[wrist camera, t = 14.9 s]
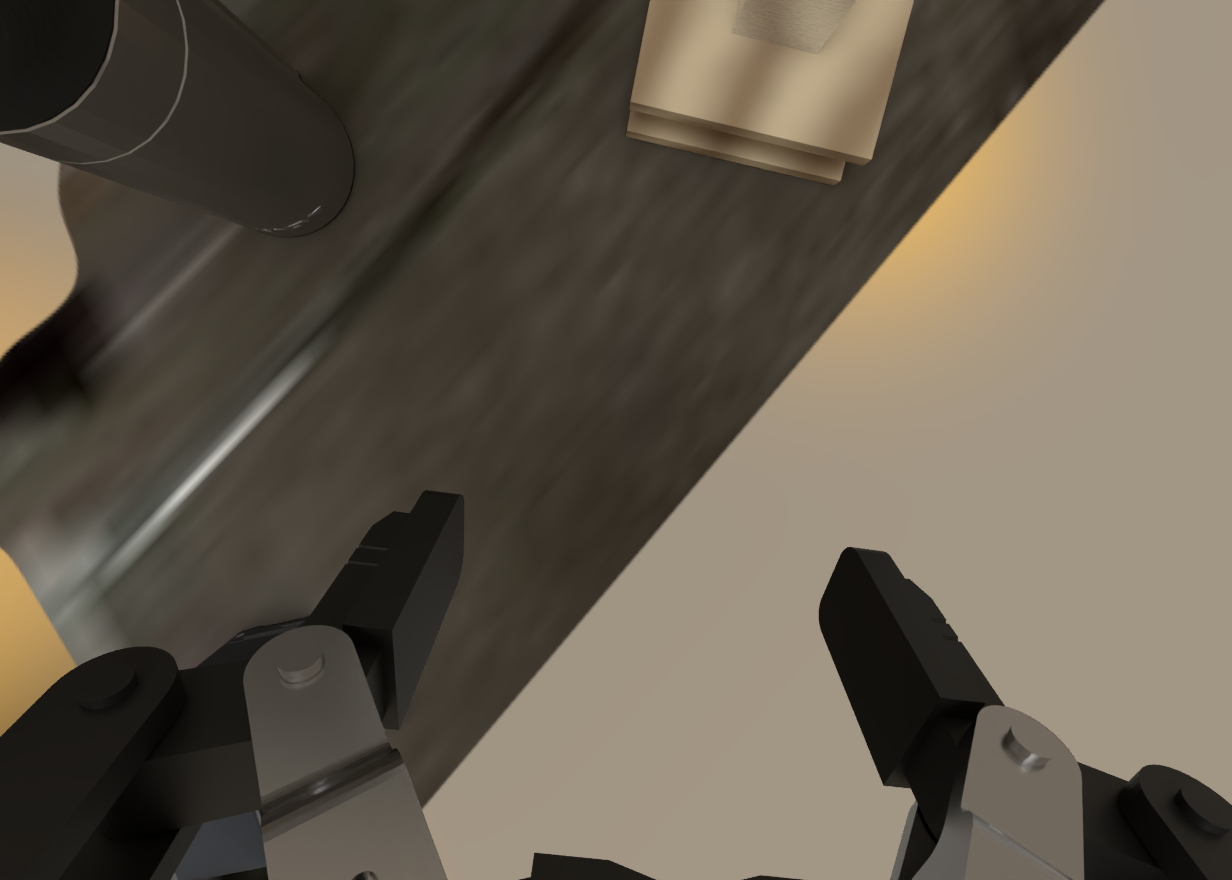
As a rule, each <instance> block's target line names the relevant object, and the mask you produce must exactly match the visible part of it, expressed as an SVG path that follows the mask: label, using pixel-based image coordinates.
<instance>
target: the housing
mask: <svg viewBox="0 0 1232 880" xmlns="http://www.w3.org/2000/svg"><path fill="white" fill-rule="evenodd" d="M855 1H856V0H739V3H738V7H737V12H736V17H735V21H734V26H733V30H732V34H736V35H740V36H744V37H748V38H752V39H756V40H760V41H764V42H768V43H772V44H776V45H780V46H784V47H788V48H793V49H797V50H801V51H805V52H809V53H813V54H817V53H818V52H819V50H820V49H821V47H822V46H823V45H824V43H825V42H826V41H827V39H828V38H829V37H830V35H831V34H832V33H833V31H834V30H835V28H836V27H837V26H838V24H839V23H840V22H841V20H842V19H843V18H844V16H845V15H846V14H847V12H848V11H849V10H850V8H851V7H852V5H853V4H854V3H855Z"/></svg>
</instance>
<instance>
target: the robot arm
mask: <svg viewBox="0 0 1232 880" xmlns="http://www.w3.org/2000/svg"><path fill="white" fill-rule="evenodd" d="M0 142H1V143H3V144H7V145H10V146H12V147H15V148H18V149H21V150H24V151H27V152H30V153H33V154H36V155H39V156H42V157H45V158H48V159H51V160H54V161H57V162H60V163H62V164H65V165H68V166H71V167H74V168H77V169H80V170H83V171H86V172H89V173H92V174H94V175H97V176H100V177H103V178H106V179H109V180H112V181H115V182H118V183H121V184H124V185H126V186H129V187H132V188H135V189H138V190H141V191H144V192H147V193H150V194H153V195H156V196H158V197H161V198H164V199H167V200H170V201H173V202H176V203H179V204H182V205H185V206H187V207H190V208H193V209H196V210H199V211H202V212H205V213H208V214H211V215H214V216H217V217H219V218H222V219H225V220H228V221H231V222H234V223H237V224H240V225H243V226H246V227H249V228H251V229H254V230H257V231H260V232H263V233H267V234H271V235H276V236H299V235H304V234H308V233H311V232H313V231H315V230H317V229H320V228H322V227H323V226H325V225H326V224H327V223H328V222H330V221H331V220H332V219H333V218H335V216H336V215H337V214H338V212H339V211H340V210H341V208H342V207H343V206H344V204H345V202H346V200H347V197H348V195H349V193H350V190H351V185H352V181H353V173H354V159H353V154H352V149H351V144H350V141H349V139H348V136H347V134H346V131H345V129H344V127H343V125H342V124H341V122H340V121H339V119H338V117H337V116H336V114H335V113H334V112H333V111H332V110H331V109H330V108H329V107H328V106H327V104H326V103H325V102H324V101H323V100H322V99H320V98H319V97H318V96H317V95H316V94H315V93H314V92H313V91H311V90H310V89H309V88H308V87H307V86H306V85H305V84H304V83H302V82H301V80H300V78H299V75H298V73H297V71H296V70H295V69H294V68H293V67H292V66H291V65H289V64H288V63H287V62H286V61H285V60H284V59H283V58H282V57H281V56H280V55H278V54H277V53H276V52H275V51H274V50H273V49H272V48H271V47H270V46H269V45H267V44H266V43H265V42H264V41H263V40H262V39H261V38H260V37H259V36H258V35H256V34H255V33H254V32H253V31H252V30H251V29H250V28H249V27H248V26H247V25H245V24H244V23H243V22H242V21H241V20H240V19H239V18H238V17H237V16H236V15H235V14H233V13H232V12H231V11H230V10H229V9H228V8H227V7H226V6H225V5H224V4H222V3H221V2H220V1H219V0H0ZM463 551H464V497H463V495H459V494H451V493H444V492H436V491H429V490H425V491H424V492H423V493H422V494H421V496H420V498H419V499H418V501H417V503H416V504H415V506H414V508H413V509H412V511H411V512H410V513H403V512H395V511H393V512H392V513H391V514H389V515H388V516H386V517H385V518H383V519H382V520H380V521H379V522H377V523H376V524H374V525H373V526H372V527H371V528H370V530H369V531H368V533H367V534H366V536H365V537H364V538H363V540H362V541H361V543H360V544H359V548H356V550H355V551H354V553H353V554H352V556H351V557H350V559H349V561H348V564H345V566H344V567H343V569H342V570H341V572H340V573H339V574H338V576H337V577H336V579H335V580H334V582H333V583H332V585H331V586H330V587H329V589H328V590H327V592H326V593H325V595H324V596H323V598H322V599H321V600H320V602H319V603H318V605H317V606H316V608H315V609H314V611H313V612H312V613H311V615H310V616H309V618H308V619H307V621H306V622H305V624H304V625H303V626H302V627H300V628H296V629H293V630H290V631H287V632H285V633H283V634H281V635H279V636H277V637H275V638H273V639H272V640H270V641H269V642H267V643H266V644H265V645H263V646H262V647H261V648H260V649H259V650H258V651H257V652H256V653H255V654H254V655H253V657H252V658H251V659H247V660H243V661H238V662H233V663H226V664H220V665H213V666H206V667H199V668H192V669H186V670H178V667H177V664H176V662H175V659H174V658H173V657H172V655H171V654H169V653H168V652H166V651H164V650H162V649H159V648H154V647H131V648H125V649H120V650H116V651H113V652H109V653H106V654H103V655H101V656H98V657H96V658H93V659H91V660H89V661H87V662H85V663H83V664H81V665H80V666H78V667H76V668H75V669H73V670H71V671H70V672H68V673H67V674H66V675H64V676H63V677H61V678H60V679H59V680H58V681H57V682H56V683H55V684H53V685H52V686H51V687H50V688H49V689H48V690H47V691H46V692H45V693H44V694H43V695H42V696H41V697H40V698H39V699H38V700H37V701H36V702H35V703H34V704H33V705H32V706H31V707H30V708H29V709H28V710H27V711H26V712H25V713H24V714H23V715H22V716H21V717H20V718H19V719H18V720H17V721H16V722H15V723H14V724H13V725H12V726H11V727H10V728H9V729H8V730H7V731H6V732H5V733H4V734H3V735H2V736H1V737H0V880H171V878H172V876H173V874H174V873H175V871H176V869H177V867H178V866H179V864H180V862H181V860H182V859H183V857H184V855H185V854H186V852H187V850H188V848H189V847H190V845H191V843H192V841H193V840H194V838H195V836H196V834H197V833H198V831H199V829H200V828H201V826H202V824H203V823H205V822H209V821H214V820H218V819H222V818H227V817H231V816H235V815H240V814H244V813H248V812H253V811H257V810H261V809H262V813H261V829H262V837H263V844H264V851H265V858H266V865H267V871H268V878H269V880H448V879H447V877H446V874H445V872H444V869H443V866H442V863H441V860H440V858H439V855H438V852H437V850H436V847H435V845H434V842H433V839H432V836H431V834H430V831H429V828H428V826H427V823H426V820H425V817H424V814H423V812H422V809H421V806H420V804H419V801H418V798H417V796H416V793H415V790H414V787H413V785H412V782H411V779H410V777H409V774H408V771H407V769H406V766H405V763H404V761H403V759H402V757H401V755H400V753H399V751H398V750H397V749H396V748H395V749H392V748H391V746H390V744H389V742H388V739H387V736H386V733H385V731H384V728H386V729H395V730H399V729H400V726H401V724H402V721H403V719H404V716H405V714H406V711H407V709H408V706H409V704H410V701H411V699H412V696H413V694H414V691H415V689H416V686H417V684H418V681H419V679H420V676H421V674H422V671H423V669H424V666H425V664H426V661H427V659H428V656H429V654H430V651H431V649H432V646H433V644H434V641H435V639H436V636H437V634H438V631H439V629H440V626H441V624H442V621H443V619H444V616H445V614H446V611H447V609H448V606H449V604H450V601H451V599H452V596H453V594H454V591H455V589H456V586H457V584H458V581H459V577H460V573H461V569H462V563H463ZM819 624H820V628H821V632H822V634H823V637H824V639H825V642H826V644H827V646H828V649H829V651H830V654H831V656H832V659H833V661H834V664H835V666H836V669H837V671H838V674H839V676H840V678H841V681H842V684H843V686H844V689H845V691H846V693H847V696H848V698H849V701H850V703H851V706H852V708H853V711H854V713H855V716H856V718H857V721H858V723H859V726H860V728H861V731H862V733H863V735H864V738H865V740H866V743H867V746H868V748H869V750H870V753H871V756H872V758H873V760H874V763H875V765H876V768H877V770H878V773H879V775H880V778H881V780H882V783H883V785H884V786H893V787H903V788H911V790H912V792H913V794H914V796H915V798H916V801H915V803H914V804H913V805H912V807H911V808H910V811H909V813H908V817H907V820H906V824H905V827H904V831H903V835H902V839H901V842H900V846H899V849H898V853H897V857H896V861H895V864H894V867H893V871H892V875H891V878H890V880H1232V805H1231V804H1230V803H1228V802H1227V801H1226V800H1225V799H1224V798H1222V797H1221V796H1220V795H1218V794H1217V793H1216V792H1214V791H1213V790H1212V789H1210V788H1209V787H1207V786H1206V785H1204V784H1202V783H1201V782H1199V781H1198V780H1196V779H1194V778H1192V777H1190V776H1189V775H1187V774H1185V773H1182V772H1180V771H1178V770H1175V769H1172V768H1169V767H1166V766H1161V765H1147V766H1145V767H1143V768H1142V769H1141V770H1140V771H1139V772H1138V773H1137V774H1136V775H1135V776H1134V777H1133V778H1132V779H1131V780H1130V781H1129V782H1128V781H1125V780H1123V779H1120V778H1118V777H1115V776H1112V775H1110V774H1107V773H1105V772H1102V771H1099V770H1097V769H1095V768H1092V767H1089V766H1087V765H1084V764H1081V763H1079V762H1077V761H1076V759H1075V758H1074V756H1073V755H1072V753H1071V752H1070V750H1069V749H1068V748H1067V747H1066V746H1065V744H1064V743H1063V742H1062V741H1061V740H1060V739H1059V738H1058V737H1057V736H1056V735H1055V734H1054V733H1053V732H1051V731H1050V730H1049V729H1048V728H1047V727H1045V726H1044V725H1042V724H1041V723H1040V722H1038V721H1037V720H1035V719H1033V718H1032V717H1030V716H1028V715H1026V714H1024V713H1022V712H1020V711H1017V710H1015V709H1012V708H1009V707H1005V705H1004V704H1003V702H1002V701H1001V700H1000V698H999V697H998V695H997V694H996V692H995V691H994V689H993V688H992V686H991V685H990V684H989V682H988V681H987V679H986V678H985V676H984V675H983V673H982V672H981V670H980V669H979V667H978V666H977V665H976V663H975V661H974V660H973V658H972V657H971V656H970V654H969V653H968V651H967V650H966V648H965V647H964V645H963V644H962V642H958V636H957V635H956V634H955V632H954V631H953V629H952V628H951V626H950V625H949V624H946V619H945V618H944V616H943V614H942V613H941V612H940V610H939V609H938V607H937V606H936V604H935V603H934V601H933V600H932V599H931V598H930V597H929V596H928V595H927V594H926V593H924V591H922V590H921V589H920V588H919V587H918V586H917V585H916V584H914V583H913V582H912V581H911V580H910V579H905V578H904V576H903V575H902V573H901V572H900V570H899V569H898V567H897V566H896V565H895V563H894V561H893V560H892V558H891V557H890V555H889V554H888V553H886V552H883V551H876V550H869V549H861V548H853V547H847V548H846V549H845V550H844V551H843V552H842V554H841V555H840V558H839V560H838V562H837V564H836V567H835V569H834V571H833V574H832V576H831V578H830V581H829V583H828V585H827V588H826V590H825V592H824V594H823V597H822V599H821V602H820V607H819ZM520 880H655V879H653V878H650V877H648V876H646V875H643V874H641V873H638V872H636V871H634V870H631V869H629V868H626V867H624V866H622V865H619V864H617V863H614V862H612V861H610V860H601V859H592V858H581V857H572V856H562V855H551V854H541V853H534V859H533V866H532V873H531V877H529V878H525V879H520ZM744 880H801V879H790V878H781V877H771V876H756V877H752V878H748V879H744Z"/></svg>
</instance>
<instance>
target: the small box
mask: <svg viewBox="0 0 1232 880" xmlns="http://www.w3.org/2000/svg"><path fill="white" fill-rule="evenodd" d="M308 618H309V617H306V618H303V619H301V620H294V621H292V622H287V623H282V624H277V625H271V626H266V627H258V628H254V629H250V630H247V631H243V632H239V633H238V634H237V635H236V636H235V637H233V638H232V639H231V640H229V641H228V642H227V643H226V644H225V645H223V646H222V647H221V648H220V649H218V650H217V651H216V652H215V653H213V654H212V655H211V656H209V657H208V658H207V659H206V660H204V661H203V662H202V663H201V664H199V665H198V666H197V667H196V668H199V667H206V666H213V665H220V664H226V663H233V662H238V661H243V660H247V659H251V658H252V657H253V655H254V654H255V653H256V652H257V651H258V650H259V649H260V648H261V647H262V646H263V645H265V644H266V643H267V642H269V641H270V640H272V639H273V638H275V637H277V636H279V635H281V634H283V633H285V632H287V631H290V630H293V629H296V628H300V627H302V626H303V625H304V624H305V622H306V621H307V619H308ZM261 813H262V809H261V810H257V811H253V812H248V813H244V814H240V815H235V816H231V817H227V818H222V819H218V820H214V821H209V822H205V823H203V824H202V826H201V828H200V829H199V831H198V833H197V834H196V836H195V838H194V840H193V841H192V843H191V845H190V847H189V848H188V850H187V852H186V854H185V855H184V857H183V859H182V860H181V862H180V864H179V866H178V867H177V869H176V871H175V873H176V876H177V879H178V880H199V879H204V878H210V877H215V876H220V875H225V874H230V873H235V872H241V871H246V870H251V869H256V868H261V867H266V866H267V865H266V858H265V851H264V844H263V837H262V829H261Z"/></svg>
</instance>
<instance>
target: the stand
mask: <svg viewBox="0 0 1232 880" xmlns="http://www.w3.org/2000/svg"><path fill="white" fill-rule="evenodd" d="M913 1H914V0H856V1H855V3H854V4H853V5H852V7H851V8H850V10H849V11H848V12H847V14H846V15H845V16H844V18H843V19H842V20H841V22H840V23H839V24H838V26H837V27H836V28H835V30H834V31H833V33H832V34H831V35H830V37H829V38H828V39H827V41H826V42H825V43H824V45H823V46H822V47H821V49H820V50H819V52H818V53H817V54H813V53H809V52H805V51H801V50H797V49H793V48H788V47H784V46H780V45H776V44H772V43H768V42H764V41H760V40H756V39H752V38H748V37H744V36H740V35H736V34H732V30H733V26H734V21H735V17H736V12H737V7H738V3H739V0H650V3H649V9H648V14H647V19H646V24H645V29H644V34H643V39H642V45H641V50H640V55H639V60H638V65H637V70H636V75H635V81H634V86H633V91H632V96H631V101H630V109H629V110H631V112H630V117H629V122H628V127H627V133H626V137H630V138H634V139H638V140H642V141H647V142H651V143H655V144H659V145H664V146H668V147H672V148H676V149H681V150H685V151H689V152H693V153H698V154H702V155H706V156H710V157H715V158H719V159H723V160H727V161H732V162H736V163H740V164H744V165H749V166H753V167H757V168H761V169H765V170H770V171H774V172H778V173H782V174H787V175H791V176H795V177H799V178H804V179H808V180H812V181H816V182H821V183H825V184H829V185H833V186H834V185H835V184H837V183H838V182H840V181H841V177H842V173H843V169H844V166H845V162H851V163H855V164H859V165H864V164H866V163H867V162H869V161H870V160H872V156H873V152H874V148H875V144H876V141H877V137H878V133H879V129H880V126H881V122H882V118H883V114H884V111H885V107H886V103H887V99H888V96H889V92H890V88H891V84H892V80H893V77H894V73H895V69H896V65H897V62H898V58H899V54H900V50H901V47H902V43H903V39H904V35H905V32H906V28H907V24H908V20H909V16H910V13H911V9H912V5H913Z"/></svg>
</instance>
